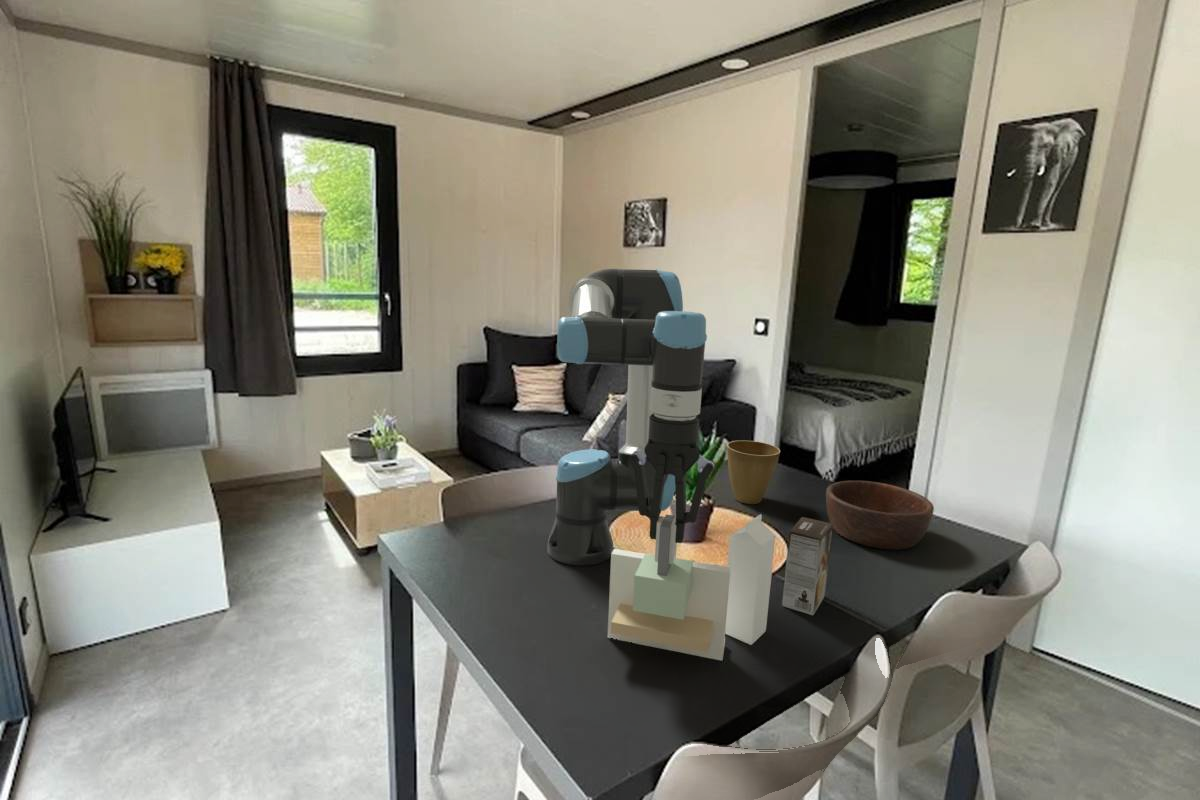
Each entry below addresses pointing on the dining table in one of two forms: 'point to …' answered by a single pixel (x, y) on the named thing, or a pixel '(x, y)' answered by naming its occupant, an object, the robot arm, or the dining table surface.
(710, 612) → the wall board
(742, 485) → the plant pot
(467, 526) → the dining table surface
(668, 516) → the green block with handle
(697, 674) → the dining table surface
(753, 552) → the milk
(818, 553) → the coffee box
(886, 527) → the wooden bowl
